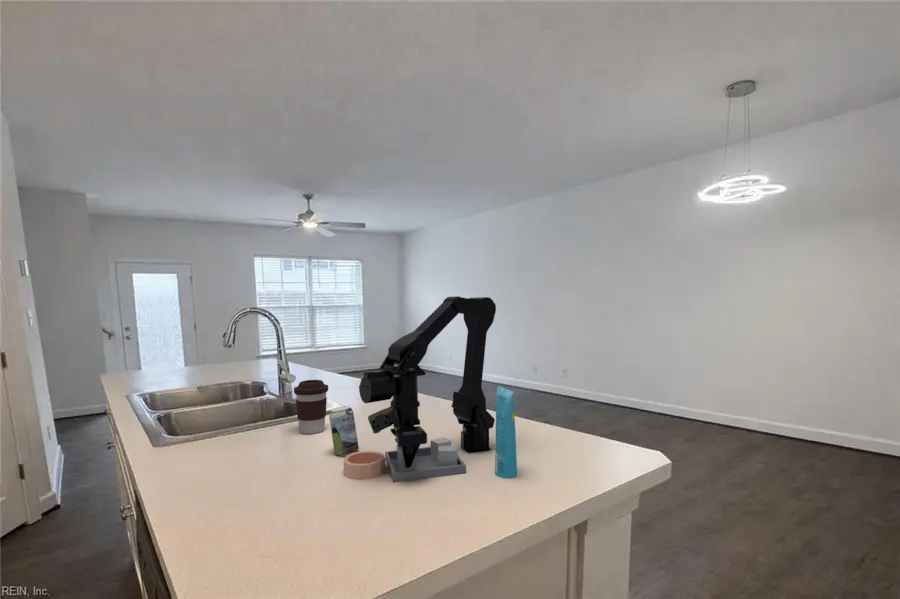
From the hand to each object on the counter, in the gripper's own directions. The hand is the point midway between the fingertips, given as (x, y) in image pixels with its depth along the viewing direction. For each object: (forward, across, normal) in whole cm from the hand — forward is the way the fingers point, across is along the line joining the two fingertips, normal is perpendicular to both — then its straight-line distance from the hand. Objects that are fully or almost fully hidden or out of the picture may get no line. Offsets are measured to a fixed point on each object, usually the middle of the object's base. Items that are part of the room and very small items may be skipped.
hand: (406, 464), depth 101 cm
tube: (+2, +10, +20) cm, 23 cm away
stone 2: (+1, -3, +9) cm, 10 cm away
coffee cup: (+2, -39, -22) cm, 45 cm away
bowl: (+1, -1, -10) cm, 10 cm away
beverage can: (+2, -15, -14) cm, 20 cm away
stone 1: (+1, 0, 0) cm, 1 cm away
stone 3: (+1, +3, +9) cm, 10 cm away
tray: (+1, 0, +4) cm, 4 cm away
